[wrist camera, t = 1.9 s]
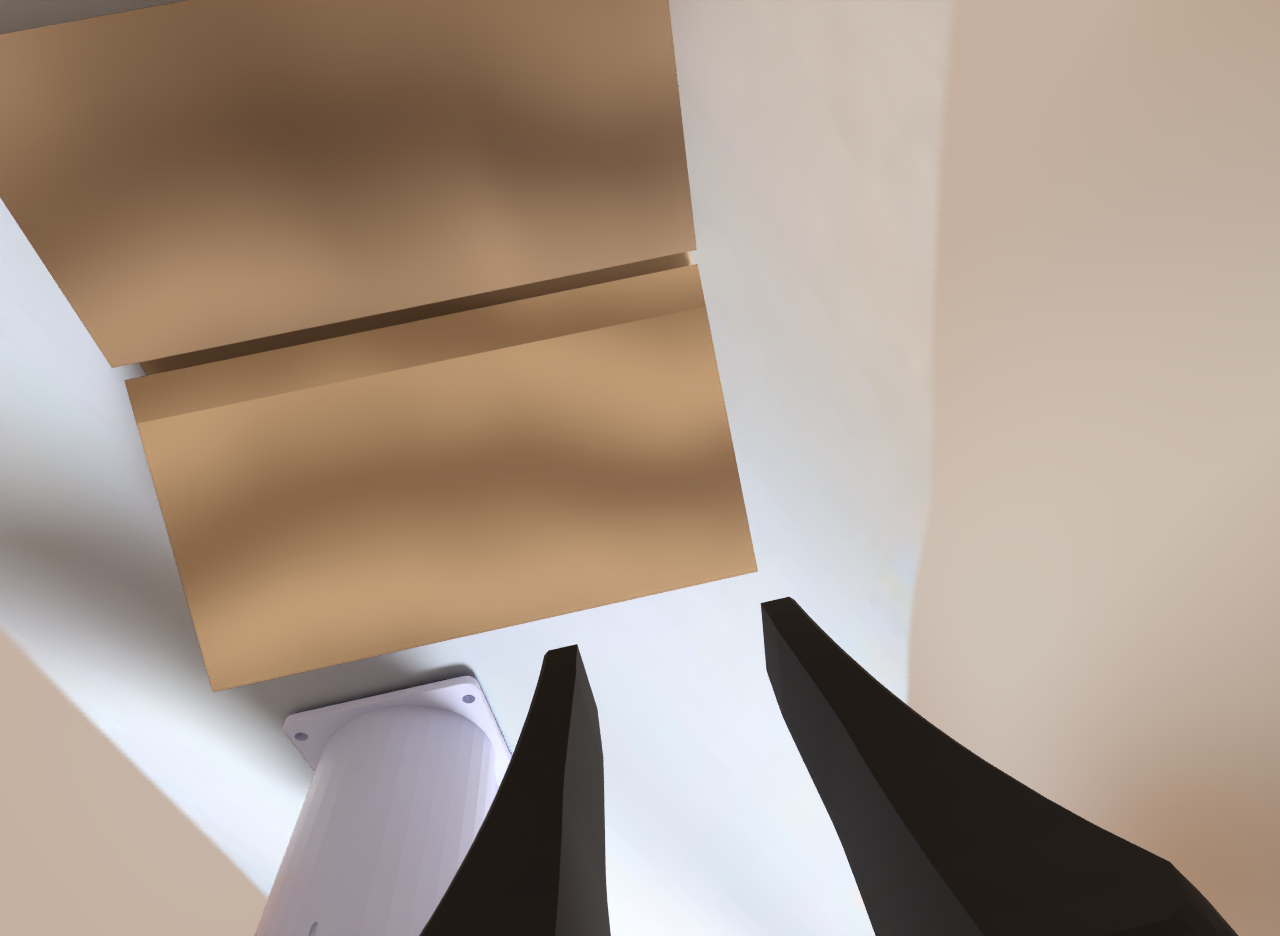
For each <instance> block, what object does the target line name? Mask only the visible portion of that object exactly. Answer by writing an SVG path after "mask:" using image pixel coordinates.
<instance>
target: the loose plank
mask: <svg viewBox="0 0 1280 936" xmlns="http://www.w3.org/2000/svg"><path fill="white" fill-rule="evenodd" d="M124 381H125V384H126V388H127V391H128V395H129V398H130V402H131V406H132V409H133V413H134V416H135V420H136V423H137V427H138V430H139V434H140V437H141V441H142V444H143V448H144V451H145V455H146V458H147V462H148V465H149V469H150V472H151V476H152V479H153V483H154V486H155V490H156V494H157V497H158V501H159V504H160V508H161V511H162V515H163V518H164V522H165V525H166V529H167V532H168V536H169V539H170V543H171V546H172V550H173V553H174V557H175V560H176V564H177V567H178V571H179V574H180V578H181V582H182V585H183V589H184V592H185V596H186V599H187V603H188V606H189V610H190V613H191V617H192V620H193V624H194V627H195V631H196V634H197V638H198V641H199V645H200V648H201V652H202V655H203V659H204V663H205V666H206V670H207V673H208V677H209V680H210V684H211V687H212V691H213V692H216V691H221V690H225V689H230V688H234V687H239V686H243V685H248V684H252V683H257V682H261V681H266V680H270V679H275V678H279V677H284V676H288V675H293V674H297V673H302V672H306V671H311V670H315V669H320V668H324V667H329V666H333V665H338V664H342V663H347V662H351V661H356V660H360V659H365V658H369V657H374V656H378V655H383V654H387V653H392V652H396V651H401V650H405V649H410V648H414V647H419V646H423V645H428V644H432V643H437V642H441V641H446V640H451V639H455V638H460V637H464V636H469V635H473V634H478V633H482V632H487V631H491V630H496V629H500V628H505V627H509V626H514V625H518V624H523V623H527V622H532V621H536V620H541V619H545V618H550V617H554V616H559V615H563V614H568V613H572V612H577V611H581V610H586V609H590V608H595V607H599V606H604V605H608V604H613V603H617V602H622V601H626V600H631V599H635V598H640V597H644V596H649V595H653V594H658V593H662V592H667V591H671V590H676V589H680V588H685V587H689V586H694V585H699V584H703V583H708V582H712V581H717V580H721V579H726V578H730V577H735V576H739V575H744V574H748V573H753V572H757V571H758V570H757V565H756V560H755V555H754V550H753V545H752V540H751V535H750V529H749V524H748V519H747V514H746V509H745V504H744V499H743V494H742V489H741V484H740V479H739V474H738V469H737V463H736V458H735V453H734V448H733V443H732V438H731V433H730V428H729V423H728V418H727V413H726V408H725V402H724V397H723V392H722V387H721V382H720V377H719V372H718V367H717V362H716V357H715V352H714V347H713V341H712V336H711V331H710V326H709V321H708V316H707V311H706V306H705V301H704V296H703V291H702V286H701V281H700V275H699V270H698V265H697V264H695V265H690V266H685V267H680V268H675V269H670V270H666V271H661V272H656V273H651V274H646V275H641V276H636V277H631V278H626V279H621V280H616V281H611V282H606V283H601V284H597V285H592V286H587V287H582V288H577V289H572V290H567V291H562V292H557V293H552V294H547V295H542V296H537V297H533V298H528V299H523V300H518V301H513V302H508V303H503V304H498V305H493V306H488V307H483V308H478V309H473V310H468V311H464V312H459V313H454V314H449V315H444V316H439V317H434V318H429V319H424V320H419V321H414V322H409V323H404V324H400V325H395V326H390V327H385V328H380V329H375V330H370V331H365V332H360V333H355V334H350V335H345V336H340V337H336V338H331V339H326V340H321V341H316V342H311V343H306V344H301V345H296V346H291V347H286V348H281V349H276V350H271V351H267V352H262V353H257V354H252V355H247V356H242V357H237V358H232V359H227V360H222V361H217V362H212V363H207V364H203V365H198V366H193V367H188V368H183V369H178V370H173V371H168V372H163V373H158V374H153V375H148V376H143V377H138V378H134V379H129V380H124Z"/></svg>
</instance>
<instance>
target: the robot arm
mask: <svg viewBox="0 0 1280 936" xmlns="http://www.w3.org/2000/svg"><path fill="white" fill-rule="evenodd" d="M761 611H762V622H763V634H764V646H765V658H766V669H767V673H768V676H769V679H770V682H771V685H772V687H773V690H774V693H775V696H776V699H777V702H778V705H779V707H780V710H781V713H782V716H783V718H784V720H785V723H786V725H787V727H788V729H789V731H790V733H791V735H792V738H793V740H794V742H795V744H796V746H797V748H798V750H799V752H800V755H801V757H802V759H803V761H804V763H805V765H806V767H807V769H808V771H809V774H810V776H811V778H812V780H813V782H814V784H815V786H816V788H817V791H818V793H819V795H820V797H821V799H822V801H823V803H824V805H825V807H826V810H827V812H828V814H829V816H830V818H831V820H832V822H833V825H834V827H835V829H836V832H837V834H838V836H839V839H840V841H841V843H842V846H843V848H844V851H845V854H846V856H847V859H848V862H849V864H850V867H851V870H852V872H853V875H854V878H855V880H856V883H857V886H858V889H859V891H860V894H861V897H862V899H863V902H864V905H865V908H866V910H867V913H868V916H869V919H870V921H871V924H872V927H873V930H874V932H875V935H876V936H1238V935H1237V934H1236V932H1235V931H1234V930H1233V929H1232V928H1231V927H1230V926H1229V924H1228V923H1227V922H1226V921H1225V920H1224V919H1223V918H1222V916H1221V915H1220V914H1219V913H1218V912H1217V910H1216V909H1215V908H1214V907H1213V906H1212V905H1211V904H1210V903H1209V901H1208V900H1207V899H1206V898H1205V897H1204V896H1203V895H1202V894H1201V893H1200V892H1199V891H1198V890H1197V889H1196V888H1195V887H1194V886H1193V885H1192V884H1191V883H1190V882H1189V881H1188V880H1187V879H1186V878H1185V877H1184V876H1183V875H1182V874H1181V873H1180V872H1179V871H1178V870H1177V869H1176V868H1175V867H1174V866H1173V865H1172V864H1171V862H1169V861H1167V860H1165V859H1163V858H1161V857H1159V856H1156V855H1155V854H1153V853H1151V852H1149V851H1147V850H1145V849H1143V848H1141V847H1139V846H1137V845H1135V844H1132V843H1130V842H1128V841H1126V840H1124V839H1122V838H1120V837H1118V836H1116V835H1114V834H1112V833H1110V832H1108V831H1106V830H1104V829H1102V828H1100V827H1098V826H1096V825H1094V824H1093V823H1091V822H1089V821H1087V820H1085V819H1083V818H1081V817H1080V816H1078V815H1076V814H1074V813H1072V812H1071V811H1069V810H1067V809H1065V808H1063V807H1062V806H1060V805H1058V804H1056V803H1054V802H1053V801H1051V800H1049V799H1047V798H1045V797H1044V796H1042V795H1040V794H1039V793H1037V792H1036V791H1034V790H1032V789H1031V788H1029V787H1027V786H1026V785H1024V784H1022V783H1020V782H1019V781H1017V780H1016V779H1014V778H1013V777H1011V776H1009V775H1008V774H1006V773H1004V772H1003V771H1001V770H999V769H998V768H996V767H994V766H993V765H991V764H989V763H988V762H986V761H985V760H983V759H982V758H980V757H979V756H977V755H976V754H974V753H973V752H971V751H970V750H968V749H967V748H965V747H964V746H962V745H961V744H959V743H958V742H956V741H955V740H954V739H952V738H951V737H949V736H948V735H946V734H945V733H944V732H942V731H941V730H940V729H938V728H937V727H935V726H934V725H933V724H931V723H930V722H928V721H927V720H926V719H925V718H923V717H922V716H921V715H919V714H918V713H917V712H915V711H914V710H913V709H911V708H910V707H909V706H908V705H906V704H905V703H904V702H903V701H901V700H900V699H899V698H898V697H896V696H895V695H894V694H893V693H892V692H890V691H889V690H888V689H887V688H885V687H884V686H883V685H882V684H881V683H880V682H878V681H877V680H876V679H875V678H874V677H873V676H871V675H870V674H869V673H868V672H867V671H866V670H865V669H864V668H862V667H861V666H860V665H859V664H858V663H857V662H856V661H855V660H854V659H852V658H851V657H850V656H849V655H848V654H847V653H846V652H845V651H844V650H843V649H842V648H841V647H840V646H838V645H837V644H836V643H835V642H834V641H833V640H832V639H831V638H830V637H829V636H828V635H827V634H826V633H825V632H824V631H823V630H822V629H821V628H820V627H819V626H818V625H817V624H816V623H815V622H814V621H813V620H812V619H811V618H810V617H809V615H808V614H807V613H806V612H805V611H804V610H803V609H802V608H801V607H800V606H799V605H798V604H797V602H796V601H795V600H794V599H792V598H790V597H786V598H782V599H777V600H773V601H768V602H764V603H761ZM468 695H471V696H468ZM283 730H284V732H285V733H286V734H287V736H288V737H289V738H290V740H291V741H292V742H293V744H294V745H295V746H296V748H297V749H298V750H299V752H300V753H301V754H302V756H303V757H304V759H305V760H306V761H307V763H308V764H309V765H310V767H311V768H312V769H313V771H314V772H315V774H314V777H313V779H312V782H311V785H310V787H309V790H308V793H307V796H306V798H305V801H304V804H303V806H302V809H301V812H300V814H299V817H298V820H297V822H296V825H295V828H294V830H293V833H292V836H291V838H290V841H289V844H288V847H287V849H286V852H285V855H284V857H283V860H282V863H281V865H280V868H279V871H278V873H277V876H276V879H275V881H274V884H273V887H272V889H271V892H270V895H269V897H268V900H267V903H266V906H265V908H264V911H263V914H262V917H261V919H260V922H259V924H258V927H257V930H256V932H255V935H254V936H611V934H610V924H609V915H608V905H607V890H606V867H605V815H604V769H603V752H602V743H601V735H600V727H599V719H598V711H597V706H596V703H595V700H594V697H593V694H592V690H591V687H590V684H589V681H588V678H587V674H586V671H585V668H584V665H583V662H582V658H581V655H580V652H579V649H578V645H577V644H576V645H572V646H567V647H563V648H558V649H554V650H549V651H548V652H547V653H546V654H545V656H544V659H543V664H542V668H541V672H540V676H539V679H538V683H537V686H536V690H535V693H534V696H533V699H532V702H531V705H530V709H529V712H528V715H527V717H526V720H525V723H524V726H523V728H522V731H521V734H520V737H519V740H518V742H517V745H516V748H515V750H514V753H513V755H512V756H511V754H510V752H509V750H508V747H507V745H506V743H505V741H504V739H503V736H502V734H501V732H500V730H499V728H498V725H497V723H496V721H495V719H494V717H493V714H492V712H491V710H490V708H489V705H488V703H487V701H486V699H485V697H484V694H483V692H482V690H481V688H480V686H479V683H478V681H477V680H476V679H475V678H473V677H471V676H461V677H456V678H452V679H448V680H443V681H439V682H434V683H430V684H425V685H421V686H416V687H412V688H407V689H403V690H398V691H394V692H389V693H385V694H381V695H376V696H372V697H367V698H363V699H358V700H354V701H349V702H345V703H340V704H336V705H331V706H327V707H323V708H318V709H314V710H309V711H305V712H300V713H296V714H292V715H290V716H288V717H287V718H286V720H285V722H284V725H283Z"/></svg>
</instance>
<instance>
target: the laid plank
mask: <svg viewBox="0 0 1280 936" xmlns="http://www.w3.org/2000/svg"><path fill="white" fill-rule="evenodd" d="M0 198H1V199H2V201H3V202H4V204H5V205H6V207H7V208H8V210H9V211H10V213H11V214H12V216H13V217H14V219H15V220H16V222H17V224H18V225H19V227H20V228H21V230H22V231H23V233H24V234H25V236H26V237H27V239H28V240H29V242H30V243H31V245H32V246H33V248H34V249H35V251H36V253H37V254H38V256H39V257H40V259H41V260H42V262H43V263H44V265H45V266H46V268H47V269H48V271H49V272H50V274H51V275H52V277H53V279H54V280H55V282H56V283H57V285H58V286H59V288H60V289H61V291H62V292H63V294H64V295H65V297H66V298H67V300H68V301H69V303H70V304H71V306H72V308H73V309H74V311H75V312H76V314H77V315H78V317H79V318H80V320H81V321H82V323H83V324H84V326H85V327H86V329H87V330H88V332H89V333H90V335H91V337H92V338H93V340H94V341H95V343H96V344H97V346H98V347H99V349H100V350H101V352H102V353H103V355H104V356H105V358H106V359H107V361H108V363H109V364H110V366H111V367H112V368H114V367H119V366H124V365H129V364H134V363H140V365H141V366H142V368H143V370H144V371H145V373H146V374H147V376H148V375H153V374H158V373H163V372H168V371H173V370H178V369H183V368H188V367H193V366H198V365H203V364H207V363H212V362H217V361H222V360H227V359H232V358H237V357H242V356H247V355H252V354H257V353H262V352H267V351H271V350H276V349H281V348H286V347H291V346H296V345H301V344H306V343H311V342H316V341H321V340H326V339H331V338H336V337H340V336H345V335H350V334H355V333H360V332H365V331H370V330H375V329H380V328H385V327H390V326H395V325H400V324H404V323H409V322H414V321H419V320H424V319H429V318H434V317H439V316H444V315H449V314H454V313H459V312H464V311H468V310H473V309H478V308H483V307H488V306H493V305H498V304H503V303H508V302H513V301H518V300H523V299H528V298H533V297H537V296H542V295H547V294H552V293H557V292H562V291H567V290H572V289H577V288H582V287H587V286H592V285H597V284H601V283H606V282H611V281H616V280H621V279H626V278H631V277H636V276H641V275H646V274H651V273H656V272H661V271H666V270H670V269H675V268H680V267H685V266H690V265H692V264H691V256H690V251H693V250H697V249H696V240H695V231H694V223H693V214H692V205H691V196H690V187H689V179H688V170H687V161H686V152H685V143H684V134H683V126H682V117H681V108H680V99H679V90H678V81H677V73H676V64H675V55H674V46H673V37H672V28H671V20H670V11H669V2H668V0H186V1H181V2H175V3H170V4H164V5H159V6H153V7H148V8H142V9H137V10H131V11H126V12H120V13H115V14H109V15H104V16H98V17H93V18H88V19H82V20H77V21H71V22H66V23H60V24H55V25H49V26H44V27H38V28H33V29H27V30H22V31H16V32H11V33H5V34H0Z"/></svg>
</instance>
